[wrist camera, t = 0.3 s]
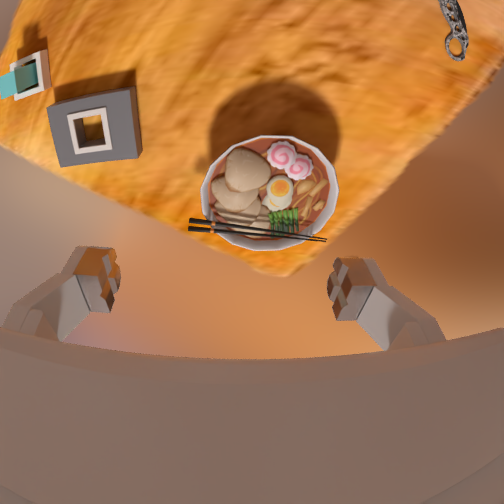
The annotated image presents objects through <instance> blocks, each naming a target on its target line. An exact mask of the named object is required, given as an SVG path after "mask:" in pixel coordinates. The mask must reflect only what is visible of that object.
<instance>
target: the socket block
mask: <svg viewBox="0 0 504 504" xmlns="http://www.w3.org/2000/svg"><path fill="white" fill-rule="evenodd" d="M47 113H48V118H49V123H50V127H51V132H52V136H53V140H54V145H55V149H56V153H57V156H58V160H59V164H60V167H67V166H74V165H81V164H89V163H97V162H105V161H114V160H124V159H136V158H138V157H139V156H140V154H141V153H142V143H141V136H140V127H139V119H138V109H137V99H136V87H135V86H132V87H126V88H119V89H113V90H108V91H103V92H97V93H93V94H88V95H83V96H79V97H75V98H71V99H67V100H63V101H59V102H56V103H54V104H52V105H50V106H49V107H47ZM99 114H101V118H102V124H103V130H104V136H105V138H103V139H97V140H90V141H86V137H85V131H84V126H83V121H82V118H83V117H88V116H94V115H99Z"/></svg>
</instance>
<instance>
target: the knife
mask: <svg viewBox="0 0 504 504" xmlns="http://www.w3.org/2000/svg"><path fill="white" fill-rule="evenodd" d="M438 1H439V3H440V8H441V10H442V13H443V15H444V17H445V19H446V20H447V22H448V23H449V25H450V28H451V33H450V34H449V35H448V36H447V37H446V39H445V46H446V50H447V53H448V54H449V56H450V57H451V58H452V59H453V60H456V61H462V60H464V59H465V53H466V49H467V47H468V35H467V29H466V24H465V20H464V16H463V13H462V11H461V8H460V6H459V4H458V2H457V0H438ZM447 3H449V4H450V6H451V10H450V11H449V10H448V9H447ZM451 15H453V16H454V18H455V20H454V21H452V19H451ZM459 16H460V18H459ZM456 26H458V27H459V31H458V32H457V30H456ZM461 36H462V39H461ZM453 38H456V39H458V40H459V41H460V43H461V46H462V52H461V54H460V55H459V56H458V57H454V56H453V55H452V54H451V53H450V50H449V42H450V40H451V39H453Z"/></svg>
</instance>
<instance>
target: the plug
mask: <svg viewBox="0 0 504 504" xmlns="http://www.w3.org/2000/svg"><path fill="white" fill-rule="evenodd" d="M36 83H38V74H37V66H36V62H35V63H32V64H29V65H27V66H24V67H21V68H19V69H16V70H14V71H12V72H10V73H7V74H5V75H3V76H1V77H0V93H1V99H4V98H6V97H9V96H11V95H13V94H16V93H18V92H20V91H22V90H24V89H26V88H28V87H30V86H32V85H34V84H36Z"/></svg>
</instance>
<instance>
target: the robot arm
mask: <svg viewBox="0 0 504 504" xmlns="http://www.w3.org/2000/svg"><path fill="white" fill-rule="evenodd" d="M116 258H117V256H116V252H115V249H113V248H108V247H93V246H90V247H89V246H78V247H76V248H75V250H74V252H73V253H72V255H71V256H70V258H69V260H68V261H67V263H66V265H65V267H64V268H63V270H62V272H61V273H60V274H59V273H57V274H56V275H54V276H53V277H51V278H50V279H48V280H47V281H46V282H44V283H42V284H41V285H40V286H38V287H37V288H35V289H34V290H32V291H31V292H30V293H28V294H27V295H25V296H24V297H23V298H21V299H20V300H18V301H17V302H16V303H14V304H13V306H12V308H11V310H10V312H9V314H8V315H7V317H6V319H5V321H4V323H3V325H2V327H0V504H504V328H497V329H493V330H490V331H486V332H482V333H478V334H474V335H470V336H466V337H461V338H457V339H452V340H446V339H445V336H444V334H443V332H442V331H441V329H440V327H439V325H438V323H437V321H436V319H435V318H434V317H433V316H431V315H430V314H429V313H427V312H426V311H425V310H424V309H422V308H421V307H420V306H418V305H417V304H416V303H414V302H413V301H411V300H410V299H409V298H408V297H406V296H405V295H404V294H402V293H401V292H400V291H398V290H397V289H395V288H394V287H393V286H389V285H388V283H387V281H386V280H385V278H384V276H383V274H382V272H381V271H380V269H379V267H378V265H377V264H376V262H375V260H374V259H373V258H339V257H338V258H336V259H335V261H334V264H333V268H334V270H335V271H334V272H332V273H331V274H330V275H329V278H328V281H327V293H328V296H329V299H330V300H332V301H333V302H334V304H333V306H332V308H333V312H334V314H335V318H336V320H337V321H341V320H343V321H344V320H356V322H357V323H358V324H359V325H360V326H361V327H362V328H363V329H364V330H365V331H366V332H367V333H368V334H369V335H370V336H371V337H372V338H373V339H374V341H375V342H376V343H377V344H378V345H379V346H380V347H381V348H382V349H383V350H384V351H379V352H372V353H362V354H352V355H342V356H329V357H315V358H294V359H209V358H188V357H174V356H160V355H150V354H141V353H131V352H123V351H116V350H108V349H101V348H94V347H89V346H82V345H77V344H71V343H66V342H62V341H63V340H64V339H65V338H66V337H67V336H68V335H69V334H70V333H71V332H72V331H73V330H74V328H75V327H77V325H78V324H80V322H82V320H83V319H84V318H85V317H86V316H87V315H88V314H89V313H90V312H102V313H110V312H111V309H112V306H113V303H114V301H115V299H114V296H113V294H115V293H116V292H117V291H118V289H119V286H120V279H121V274H120V268H119V266H118V265H117V264H116V263H115V260H116Z"/></svg>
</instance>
